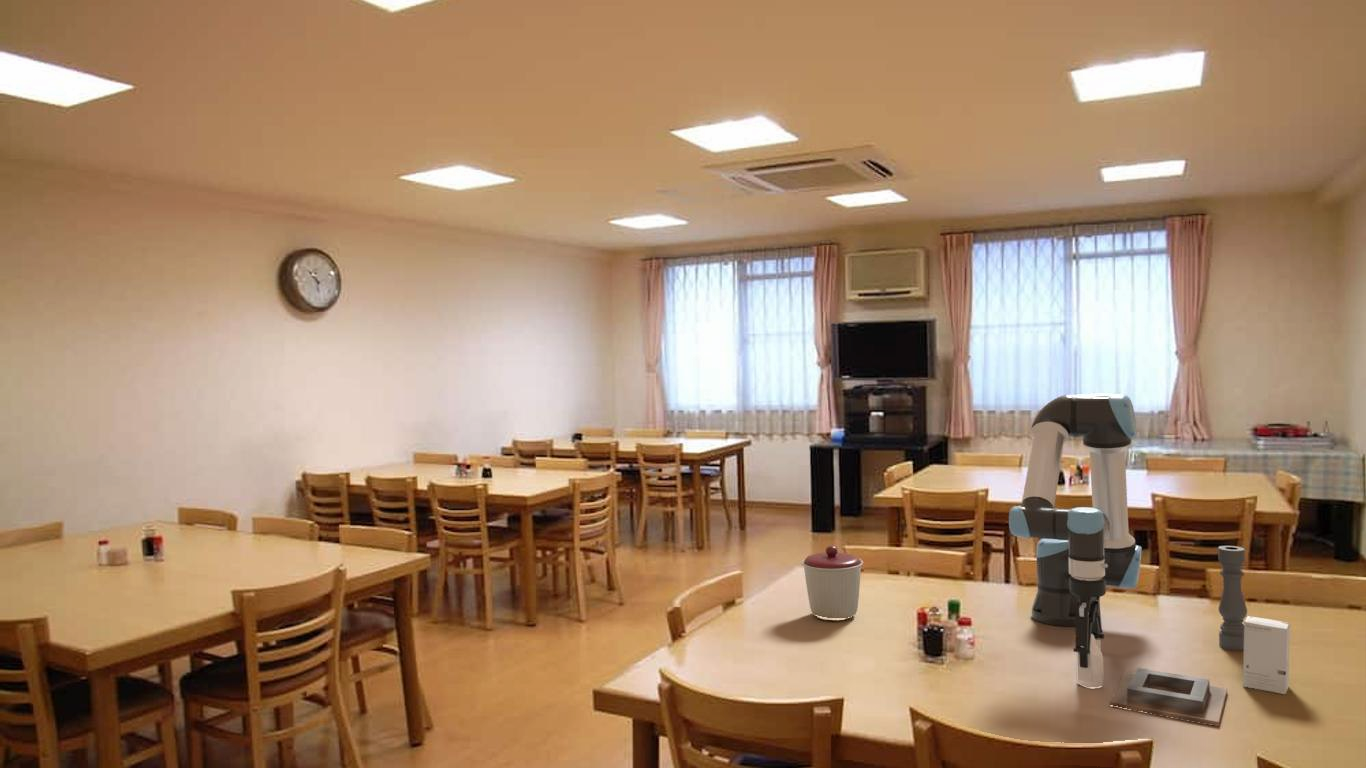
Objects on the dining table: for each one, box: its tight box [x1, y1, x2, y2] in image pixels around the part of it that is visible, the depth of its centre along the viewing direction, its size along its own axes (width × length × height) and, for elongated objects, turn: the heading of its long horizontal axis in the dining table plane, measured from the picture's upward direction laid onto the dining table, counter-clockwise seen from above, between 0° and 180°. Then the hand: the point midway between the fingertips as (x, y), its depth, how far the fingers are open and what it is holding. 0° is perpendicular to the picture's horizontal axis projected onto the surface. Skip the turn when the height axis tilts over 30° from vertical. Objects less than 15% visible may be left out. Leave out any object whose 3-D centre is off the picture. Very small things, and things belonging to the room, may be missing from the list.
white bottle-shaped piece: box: [1075, 634, 1104, 687], centre depth 199 cm, size 6×12×6 cm
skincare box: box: [1242, 615, 1291, 695], centre depth 193 cm, size 8×6×15 cm
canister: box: [801, 545, 864, 618], centre depth 258 cm, size 18×18×21 cm
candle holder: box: [1217, 545, 1248, 652], centre depth 218 cm, size 6×6×25 cm
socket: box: [1109, 667, 1228, 727], centre depth 189 cm, size 20×20×4 cm
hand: (1089, 673), depth 199 cm, fingers open, 9 cm apart
